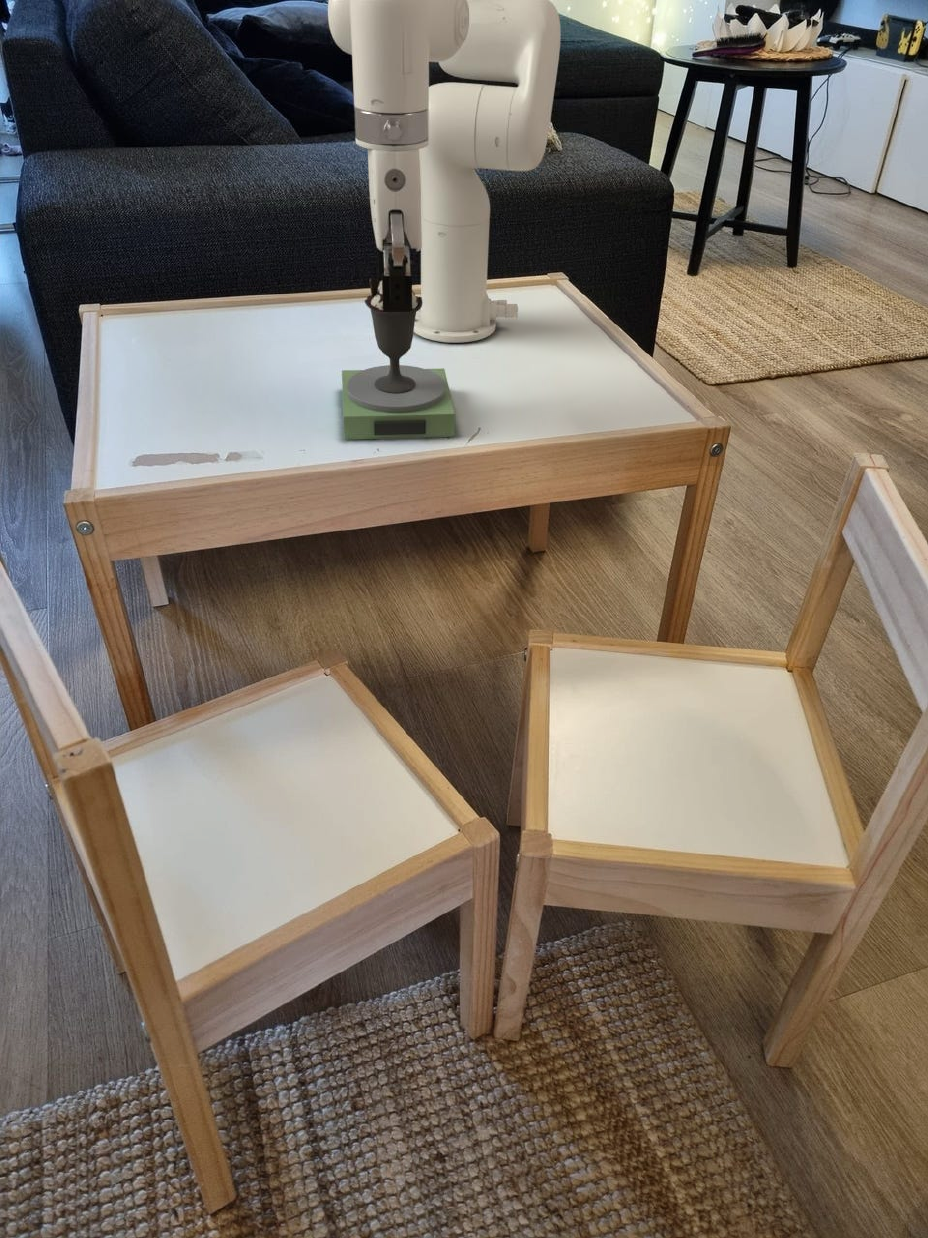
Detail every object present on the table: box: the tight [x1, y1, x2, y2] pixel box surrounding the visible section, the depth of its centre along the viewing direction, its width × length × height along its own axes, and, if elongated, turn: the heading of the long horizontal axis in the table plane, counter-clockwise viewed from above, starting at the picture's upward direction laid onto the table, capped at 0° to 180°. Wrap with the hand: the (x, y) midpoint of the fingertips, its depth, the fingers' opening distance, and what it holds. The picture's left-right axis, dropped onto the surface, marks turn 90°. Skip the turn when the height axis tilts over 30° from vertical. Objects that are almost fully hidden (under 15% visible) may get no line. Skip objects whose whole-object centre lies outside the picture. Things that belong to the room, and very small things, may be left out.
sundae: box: [363, 259, 423, 393], centre depth 106 cm, size 7×7×15 cm
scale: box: [341, 364, 456, 441], centre depth 112 cm, size 13×14×4 cm
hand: (394, 295), depth 105 cm, fingers open, 9 cm apart
